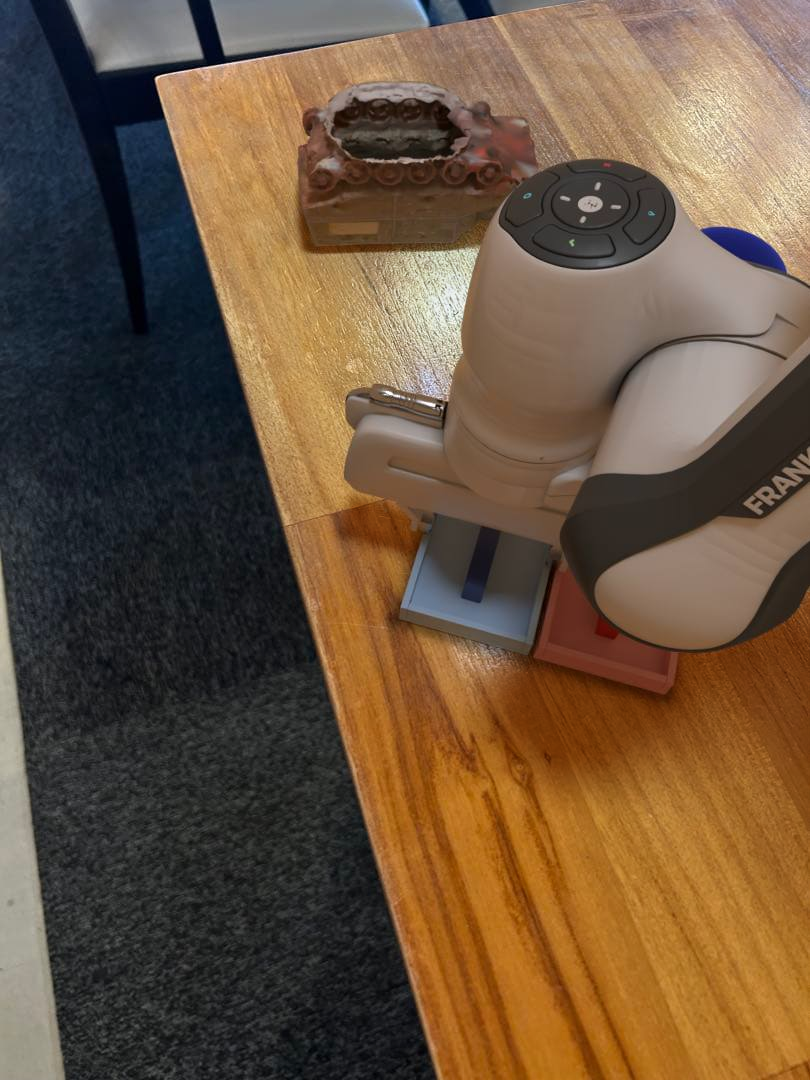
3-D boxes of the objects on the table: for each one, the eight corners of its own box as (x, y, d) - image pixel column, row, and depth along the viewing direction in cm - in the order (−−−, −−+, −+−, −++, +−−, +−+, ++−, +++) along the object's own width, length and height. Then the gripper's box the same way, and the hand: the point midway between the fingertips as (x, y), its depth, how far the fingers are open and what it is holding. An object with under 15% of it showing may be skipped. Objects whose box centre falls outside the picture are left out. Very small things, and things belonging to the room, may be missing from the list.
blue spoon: (501, 610, 65) (507, 595, 63) (439, 592, 65) (443, 576, 63) (542, 455, 71) (548, 437, 69) (485, 439, 71) (489, 421, 69)
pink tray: (698, 475, 72) (707, 461, 70) (664, 695, 63) (673, 685, 61) (582, 444, 72) (588, 429, 71) (533, 657, 64) (538, 646, 62)
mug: (577, 345, 77) (608, 254, 68) (703, 306, 80) (748, 214, 71) (627, 423, 74) (666, 339, 65) (756, 379, 76) (811, 292, 68)
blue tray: (576, 443, 72) (582, 428, 71) (527, 656, 64) (532, 644, 62) (462, 412, 73) (465, 397, 71) (398, 619, 65) (400, 607, 63)
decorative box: (303, 147, 86) (299, 47, 77) (523, 161, 87) (544, 64, 78) (292, 255, 80) (287, 159, 71) (530, 269, 80) (553, 177, 72)
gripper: (328, 422, 52) (330, 540, 65) (694, 520, 51) (625, 623, 63) (362, 337, 55) (357, 465, 67) (708, 428, 54) (640, 542, 66)
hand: (489, 542), depth 65 cm, fingers open, 8 cm apart
